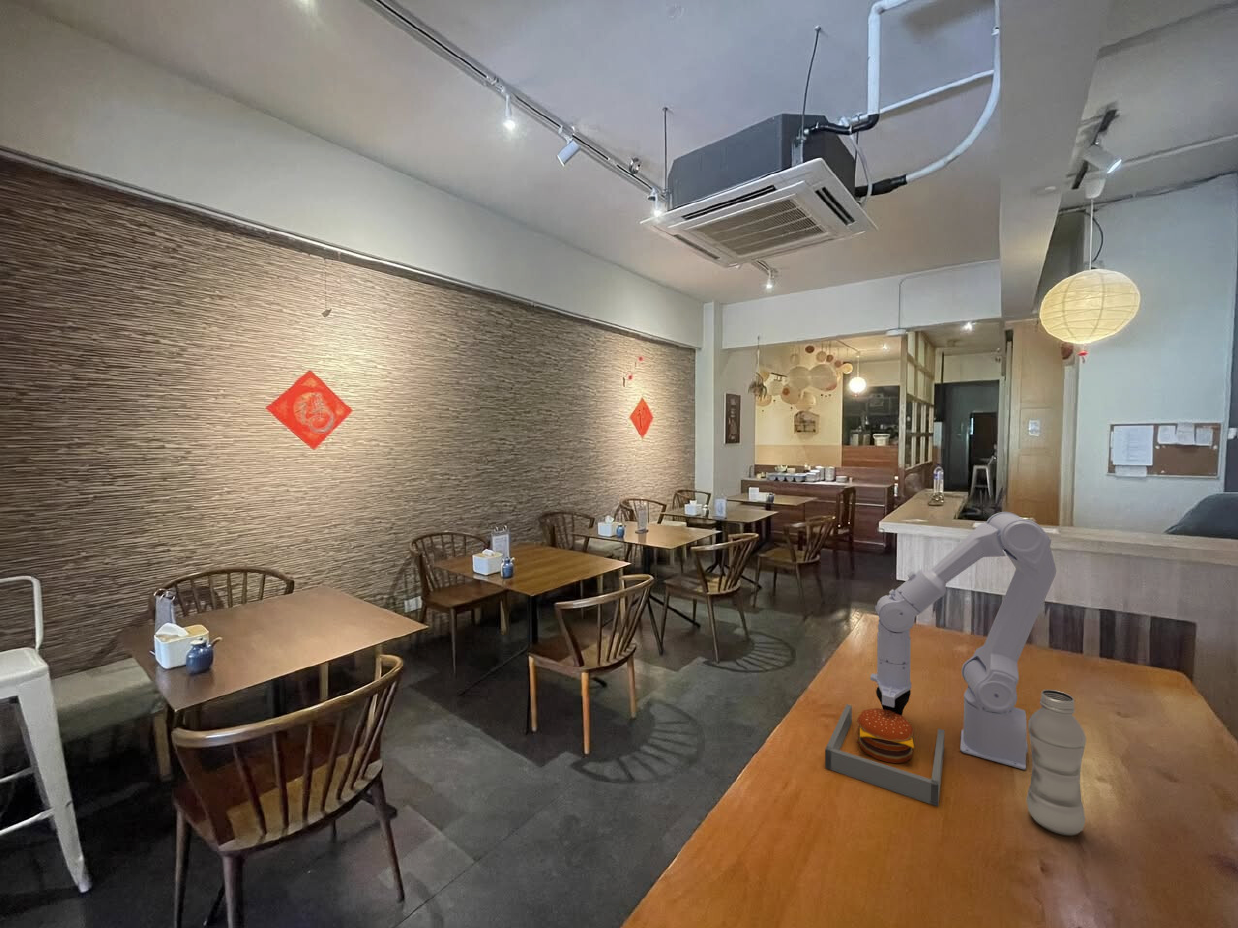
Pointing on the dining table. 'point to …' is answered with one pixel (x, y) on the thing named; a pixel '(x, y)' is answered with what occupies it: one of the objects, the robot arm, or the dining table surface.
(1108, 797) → the dining table surface
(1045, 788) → the plastic bottle
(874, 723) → the hamburger
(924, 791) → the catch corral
